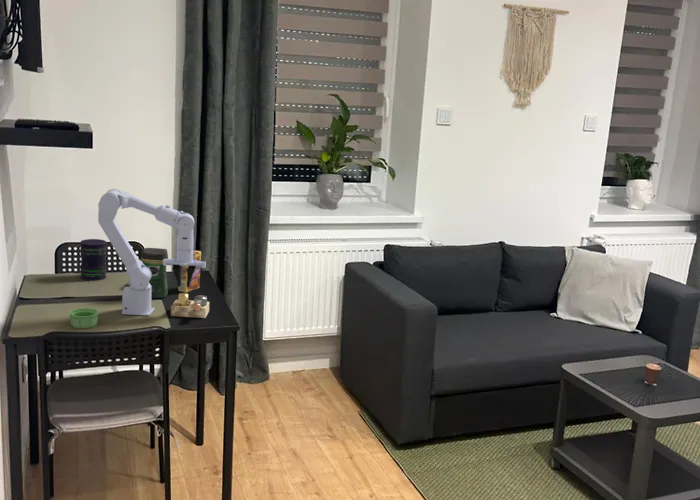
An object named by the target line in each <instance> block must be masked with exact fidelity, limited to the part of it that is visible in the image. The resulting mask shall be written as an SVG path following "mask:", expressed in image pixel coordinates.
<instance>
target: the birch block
mask: <svg viewBox="0 0 700 500" xmlns="http://www.w3.org/2000/svg"><path fill="white" fill-rule="evenodd" d="M193 306H194V300H191V299H190V300H189V299H188V306H178V299H175V300H174V301H173V303H172V304H171V306H170V317H183V318H184V317H185V318H198V319H199V318H201V319H206V318H207V316H208V314H209V313H210V301H207V305H206V306H201V308H200V311H199V312H195V311H193Z"/></svg>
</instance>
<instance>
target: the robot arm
mask: <svg viewBox="0 0 700 500" xmlns="http://www.w3.org/2000/svg"><path fill="white" fill-rule="evenodd" d="M97 206H98V213H97V214H98V216H97V217H98V218H97V222H98V224H99V226H100V227H101V229H102V231H103V232H104V234H105V235H106V237H107V239H108V241H109V242H110V243H111V246H112V247H113V249H114V250H115V252H116V253H117V255H118V257H119V258H120V261H121V262H122V263H123V265H124V267H125V270H126V273H127V276H128V277H129V281H130V284H131V285H130V286H125V287H124V288H123V289H122V299H121V301H122V303H121V304H122V305H121V308H122V310H121V311H122V312H121V314H122V315H130V316H131V315H132V316H147V317H148V316H151V314H152V312H153V311H154V310H155V307H152V298H151V291H152V286H151V285H150V283H149V280H150V279H151V276H152V273H151V271H150V269H149V268H148V267H146V266H145V265H144V264H143V263H142V260H141V259H139V257H138V255H137V254H136V253H135V251H134V249H133V247H132V246H131V244H130V243H129V241H128V239H127V238H126V236H125V234H124V233H123V231H122V230H121V228H120V226H119V224H118V223H117V221H116V220H115V219H116V217H117V214H118V210H119V209H120V208H121V209H128V208H133V209H135V210H139V211H141V212H144V213H147V214H150V215H153V216H154V218H155V220H156V221H158V222H160V223H163V224H165V225H167V226H171V227H173V228H176V229H177V235H176V253H175V254H176V256H175V257H176V258H168V259H164V260H163V265H164V266H166V267H167V266H171V267H172V271H173V274H174V275H175V278H176V281H177V288H178V287H180V286H181V271H182V266H187V267H188V268H187V287H189V286H190V282H191V279H192V276H193V273H194V271H195V269H196V267H200V269H201V268H202V269H206V265H207V261H203V260H201V261H197V260H193V250H194V243H195V242H194V240H195V239H194V238H195V237H194V232H195V231H194V229H195V218H194V217H193V215H191V214H190V213H189V212H184V211H183V210H180V211H179V210H177V209H174V208H172V207H171V205H170V204H166V205H164V204H162V205H155V204H154V203H151V202H148V201H146V200H145V199H142V198H140V197H138V196H135V195H134V194H131V193H128V192H126V191H121V190H119V189H117V188H111V189H109V190H107V192H105V193H104V194H102V195H101V198H100V199H99V201H98V204H97Z"/></svg>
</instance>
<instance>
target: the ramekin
mask: <svg viewBox="0 0 700 500" xmlns="http://www.w3.org/2000/svg"><path fill="white" fill-rule="evenodd" d="M99 314H100V311H99V310H98V309H96V308H92V307H81V308H75V309H72V310H70V311H69V316H70V325H71V327H73V328H75V327H76V328H75V329H90V328H89V327H91V328H94V327H96V326H97V325H98V320H99ZM95 325H96V326H95ZM93 326H94V327H93Z"/></svg>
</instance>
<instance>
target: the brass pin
mask: <svg viewBox="0 0 700 500" xmlns="http://www.w3.org/2000/svg"><path fill="white" fill-rule="evenodd" d="M177 300H178V306H188V300H189V293H188V292H187V293H185V292H179V293H178V298H177Z"/></svg>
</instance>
